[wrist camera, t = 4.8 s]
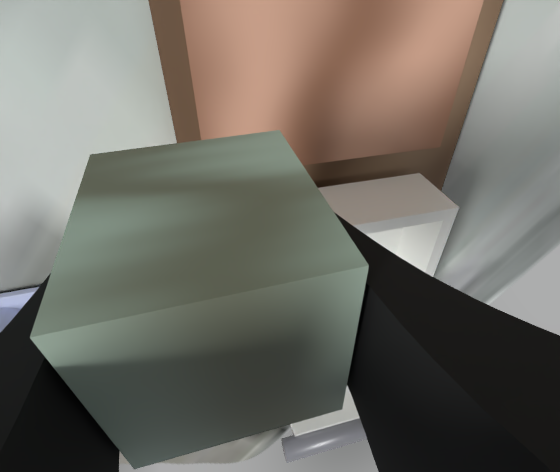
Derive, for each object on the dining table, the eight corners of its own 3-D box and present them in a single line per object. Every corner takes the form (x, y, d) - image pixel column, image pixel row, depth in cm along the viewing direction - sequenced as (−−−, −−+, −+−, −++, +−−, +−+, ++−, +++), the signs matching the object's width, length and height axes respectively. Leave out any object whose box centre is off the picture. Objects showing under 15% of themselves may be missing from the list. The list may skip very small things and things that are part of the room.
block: (142, 287, 11) (134, 469, 7) (90, 154, 8) (30, 337, 4) (282, 259, 12) (342, 409, 8) (279, 129, 9) (368, 264, 5)
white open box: (251, 322, 23) (287, 466, 17) (240, 193, 17) (289, 344, 10) (382, 294, 25) (459, 414, 18) (415, 168, 19) (548, 284, 12)
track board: (213, 325, 23) (214, 332, 23) (80, -347, 8) (75, -363, 8) (405, 285, 26) (408, 290, 26) (581, -276, 11) (598, -286, 10)
